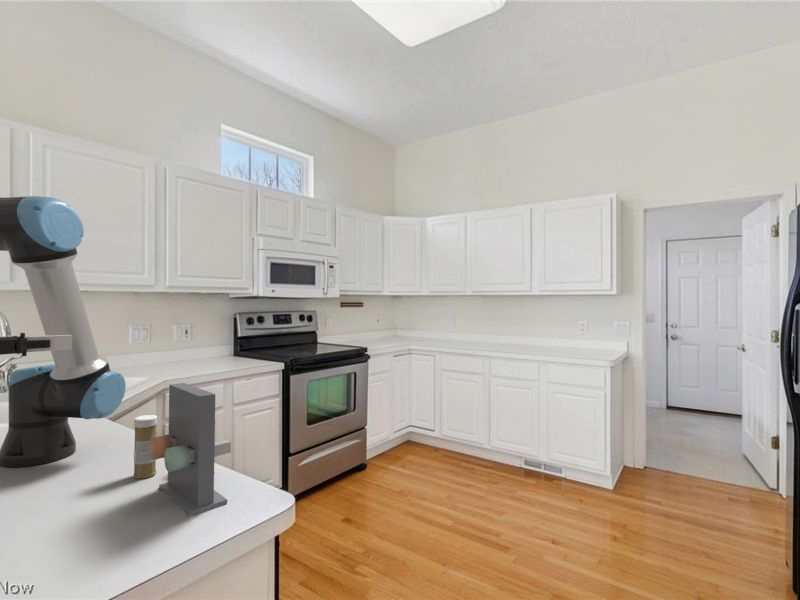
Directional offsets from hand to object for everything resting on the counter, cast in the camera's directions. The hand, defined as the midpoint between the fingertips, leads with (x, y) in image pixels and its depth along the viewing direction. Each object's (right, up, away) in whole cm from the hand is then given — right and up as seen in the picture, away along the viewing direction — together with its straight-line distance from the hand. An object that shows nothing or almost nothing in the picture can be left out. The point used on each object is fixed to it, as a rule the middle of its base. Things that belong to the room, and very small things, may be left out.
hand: (71, 342), depth 82 cm
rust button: (+16, -24, +10) cm, 31 cm away
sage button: (+23, -25, +3) cm, 34 cm away
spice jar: (+4, -32, +17) cm, 37 cm away
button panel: (+19, -32, +6) cm, 38 cm away
